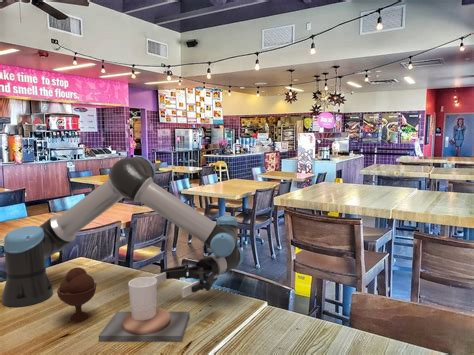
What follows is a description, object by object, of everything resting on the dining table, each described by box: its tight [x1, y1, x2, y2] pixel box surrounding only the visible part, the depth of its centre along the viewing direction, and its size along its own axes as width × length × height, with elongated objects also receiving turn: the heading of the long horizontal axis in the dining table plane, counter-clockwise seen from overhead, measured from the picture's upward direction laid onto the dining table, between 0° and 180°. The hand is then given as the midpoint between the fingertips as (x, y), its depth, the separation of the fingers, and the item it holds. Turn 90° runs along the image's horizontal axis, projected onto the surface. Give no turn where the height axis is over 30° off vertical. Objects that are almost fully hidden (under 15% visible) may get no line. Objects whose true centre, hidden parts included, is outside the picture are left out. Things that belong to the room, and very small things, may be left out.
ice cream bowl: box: [56, 266, 98, 323], centre depth 111 cm, size 11×11×15 cm
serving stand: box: [98, 307, 191, 342], centre depth 105 cm, size 22×14×3 cm, turn 89°
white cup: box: [127, 276, 158, 321], centre depth 106 cm, size 8×8×10 cm
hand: (165, 287), depth 110 cm, fingers open, 13 cm apart
